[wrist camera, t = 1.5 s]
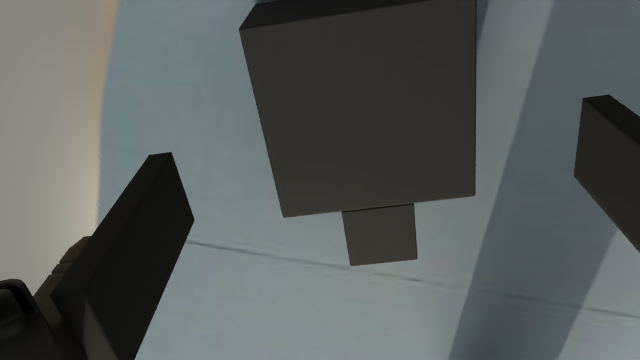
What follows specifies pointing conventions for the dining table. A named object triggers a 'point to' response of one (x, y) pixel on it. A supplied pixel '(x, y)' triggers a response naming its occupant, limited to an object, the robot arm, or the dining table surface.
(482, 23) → the dining table surface
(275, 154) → the black pad
